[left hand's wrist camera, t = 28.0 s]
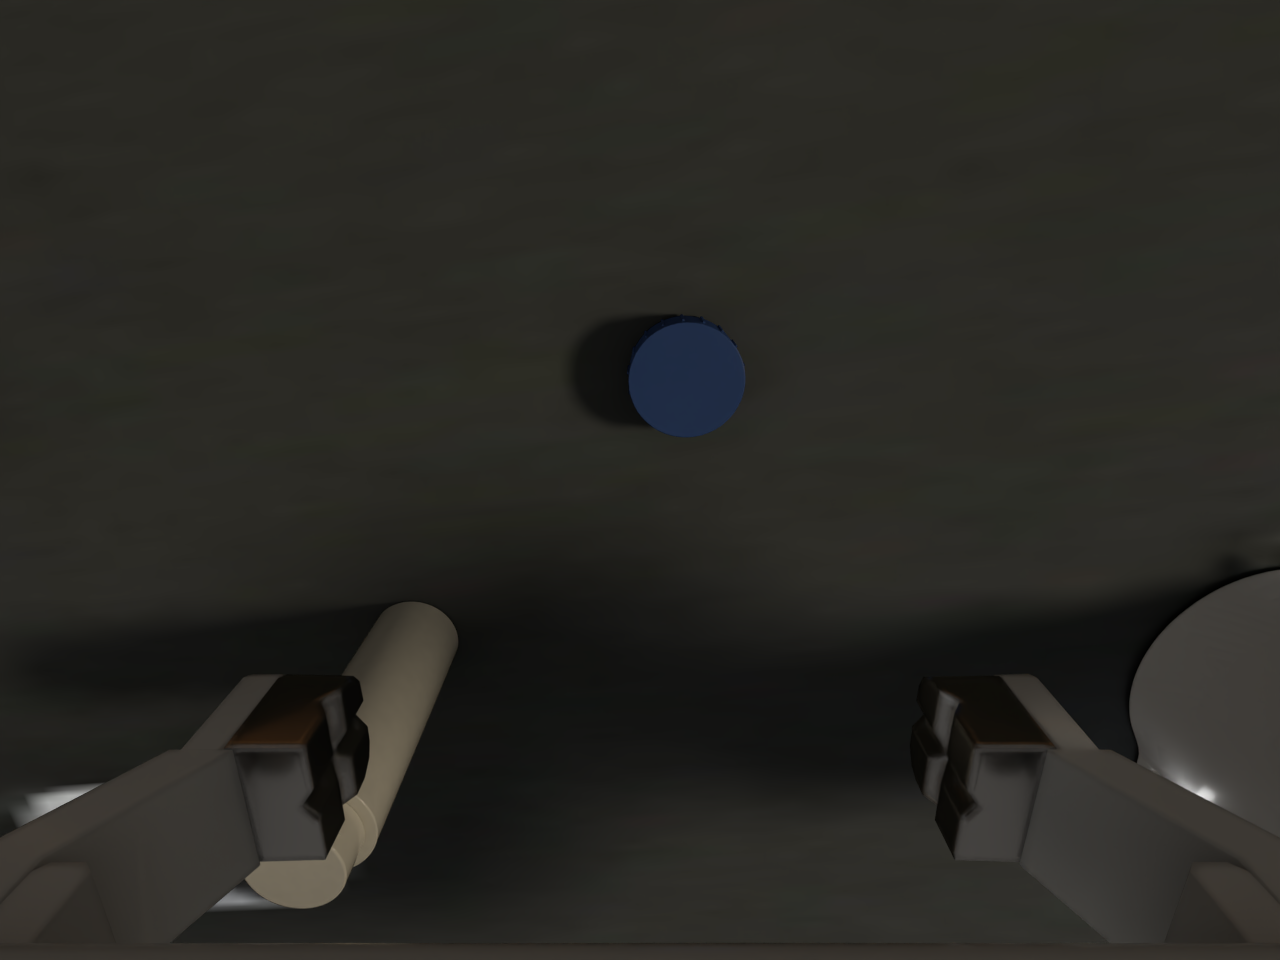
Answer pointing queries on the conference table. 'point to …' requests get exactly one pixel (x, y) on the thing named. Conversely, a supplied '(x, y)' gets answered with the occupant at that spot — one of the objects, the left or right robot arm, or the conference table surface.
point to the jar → (374, 745)
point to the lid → (686, 376)
